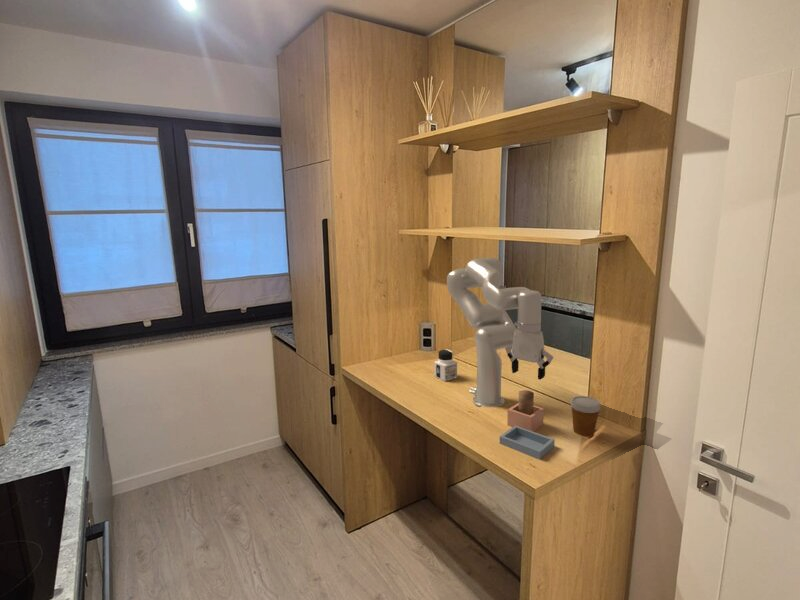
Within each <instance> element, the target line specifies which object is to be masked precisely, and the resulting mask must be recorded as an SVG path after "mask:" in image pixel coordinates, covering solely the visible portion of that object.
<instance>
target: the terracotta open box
mask: <svg viewBox="0 0 800 600" xmlns="http://www.w3.org/2000/svg"><path fill="white" fill-rule="evenodd" d="M518 408H519V402H518V403H516V404H515V405H513V406H511V407H510V408H508V409H507V427H511V428H512V427H514V426H515V425H516V426H519V427H521V428H524V429H527V430H530V431H533V432H536V430H538V429H539V428H540V427H542V426H543V425H544V416H545V414H544V411H545V408H543V407H540V406H537V405H534V404H533V414H532V415H527V414H524V413H521V412H518Z"/></svg>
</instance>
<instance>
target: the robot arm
mask: <svg viewBox="0 0 800 600" xmlns="http://www.w3.org/2000/svg"><path fill="white" fill-rule="evenodd" d="M502 273H503V265H502V262H501V260H499V259H498V258H495V257H481V258H480V257H478V258H473V259H471V260H470V261H468V263H467V264H466V266H465V268H457V269H454V270H452V271H450V272H449V273H448V274H447V277H446V286H447V290H448V292H449V294H450V296H451V298H452V299H453V301H455V302H456V303H457V306H459V308H460V310H461V312H462V313H463V315H464V317H465V319H466V321H467V322H468V324H469V325H470V326H471V328H473V329H475V330H476V332H475V334H474V342H475V347H476V365H477V366H476V387H475V386H470V389H469V393H470V394H472V395H474V397H473V398H472V402H473V404H474V405H475V406H476V407H479V408H481V407H484V408H497V407H500V406H503V405H504V404H505V402H506V400H505V398H504V397H502V369H503V367H502V366H503V365H502V364H503V363H502V358H501V356H500V355H499V353H498V350H502V349H505V352H506V356H507V357H508V359H509V361H510V362H511V373H512V374H516V373H517V372H519V367H520V366H519V360H521V361H525V362H529V363H536V364H537V365H538V368H537V370H538V371H537V379H538V380H542V379H544V378H545V377H546V367H547V366H549V365H550V364H551V362H553V360H554V356H553V355H552V354H550V352H548V351H547V350H545V341H544V335H543V334H544V333H543V331H541V329H542V328H541V327H542V326H541V325H542V294H541V292H540V291H538V290H532V289H529V288H528V287H524V286H517V287H516V286H515V287H506V288H500V287H501V286H502V284H503V281H504V277H503V274H502ZM481 287H482V288H481ZM472 288H481V291H482V296H483V299H484V300H485V302H486V303H487V304H484V303H482V302H481V300H480V298H479V297H478V296H477V294H475V293H474V292H473V291H472V290H470V289H472ZM509 310H517V321H514V322H513V321H512V319H511V317H510V316H509V314H508V312H507V311H509ZM545 358H546V361H545Z"/></svg>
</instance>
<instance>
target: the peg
mask: <svg viewBox="0 0 800 600" xmlns="http://www.w3.org/2000/svg"><path fill="white" fill-rule="evenodd" d="M534 396H535V393H534V391H531V390H527V389H523V390H520V391H519V392H518V403H519V408H518V412H521V413H524V414H527V415H532V414H533V405H534V400H535V399H534Z"/></svg>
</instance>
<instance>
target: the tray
mask: <svg viewBox="0 0 800 600" xmlns="http://www.w3.org/2000/svg"><path fill="white" fill-rule="evenodd" d="M555 440H556V439H554V438H552V437H549V436H546V435H543V434H541V433H538V432H536V431H534V432H533V431H530V430H527V429H524V428H521V427H519V426H516V425H515V426H514V427H511V428H509V429H508V430H507V431H505V432H504V433H502V434H501V435H500V436H499V444H500V445H503V446H505V447H507V448H510V449H512V450H515V451H517V452H520V453H521V454H524V455H527V456H530V457H531V458H535V459H537V460H541V459H542V458H543V457H544V456H546V454H548V453H549V452H550V451H552V449H553V448H555Z"/></svg>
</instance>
